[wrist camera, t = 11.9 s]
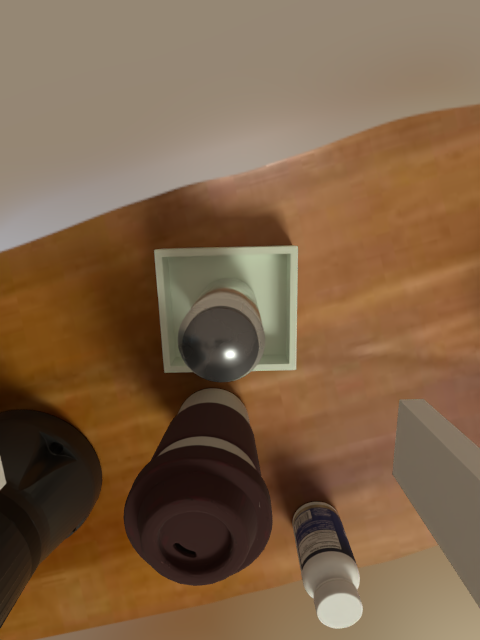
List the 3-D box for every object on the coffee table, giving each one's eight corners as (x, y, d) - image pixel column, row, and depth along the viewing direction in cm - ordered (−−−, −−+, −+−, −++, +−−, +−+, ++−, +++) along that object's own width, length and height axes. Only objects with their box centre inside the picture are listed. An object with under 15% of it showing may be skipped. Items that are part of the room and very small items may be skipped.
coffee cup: (238, 359, 34) (236, 452, 19) (275, 440, 36) (298, 578, 22) (150, 395, 35) (84, 509, 20) (191, 471, 37) (158, 624, 22)
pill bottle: (340, 536, 39) (372, 632, 30) (293, 541, 39) (310, 638, 30) (338, 497, 38) (370, 584, 28) (289, 501, 38) (306, 590, 28)
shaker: (200, 335, 33) (177, 389, 21) (197, 278, 31) (171, 302, 20) (257, 334, 33) (266, 387, 21) (256, 276, 31) (266, 300, 20)
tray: (171, 360, 34) (164, 372, 31) (162, 248, 31) (153, 249, 28) (291, 358, 34) (296, 369, 31) (292, 245, 31) (297, 246, 28)
